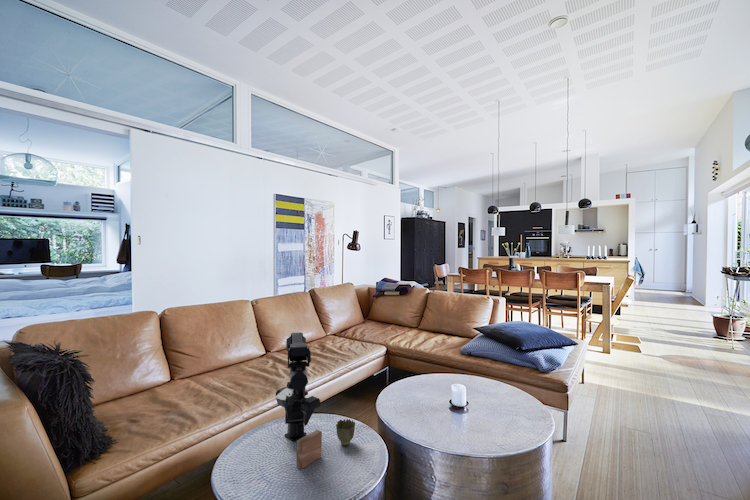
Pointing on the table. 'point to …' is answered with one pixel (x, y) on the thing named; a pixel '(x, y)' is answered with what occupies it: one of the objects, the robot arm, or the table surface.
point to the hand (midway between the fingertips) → (297, 421)
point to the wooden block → (309, 449)
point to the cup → (345, 431)
